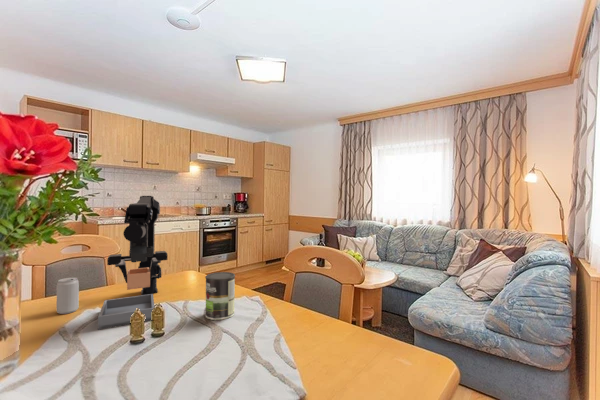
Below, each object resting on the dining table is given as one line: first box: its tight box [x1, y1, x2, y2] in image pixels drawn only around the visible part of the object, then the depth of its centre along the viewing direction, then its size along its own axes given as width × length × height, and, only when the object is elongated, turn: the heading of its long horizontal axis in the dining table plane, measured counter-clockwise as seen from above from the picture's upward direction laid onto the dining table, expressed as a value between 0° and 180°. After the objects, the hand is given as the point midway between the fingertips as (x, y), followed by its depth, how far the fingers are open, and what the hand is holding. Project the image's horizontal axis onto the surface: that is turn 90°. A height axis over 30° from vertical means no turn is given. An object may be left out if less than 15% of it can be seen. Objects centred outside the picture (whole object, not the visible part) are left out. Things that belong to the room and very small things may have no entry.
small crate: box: [126, 267, 150, 290], centre depth 104 cm, size 10×7×5 cm
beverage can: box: [56, 277, 80, 315], centre depth 106 cm, size 6×6×12 cm
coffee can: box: [204, 271, 236, 321], centre depth 103 cm, size 10×10×14 cm
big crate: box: [97, 293, 155, 331], centre depth 103 cm, size 18×16×4 cm
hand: (138, 281), depth 105 cm, fingers closed on small crate, 7 cm apart
